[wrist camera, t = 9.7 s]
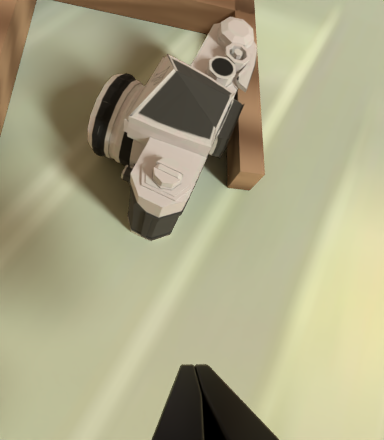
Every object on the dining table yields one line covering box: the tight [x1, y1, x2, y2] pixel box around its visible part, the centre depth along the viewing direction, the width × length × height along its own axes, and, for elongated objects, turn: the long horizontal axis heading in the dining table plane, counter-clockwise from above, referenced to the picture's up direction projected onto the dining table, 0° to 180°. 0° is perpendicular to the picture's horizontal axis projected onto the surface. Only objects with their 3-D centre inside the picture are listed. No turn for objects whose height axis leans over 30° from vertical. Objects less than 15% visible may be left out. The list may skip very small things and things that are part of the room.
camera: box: [87, 17, 257, 241], centre depth 21 cm, size 16×9×10 cm, turn 157°
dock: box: [0, 0, 265, 190], centre depth 26 cm, size 19×22×3 cm
